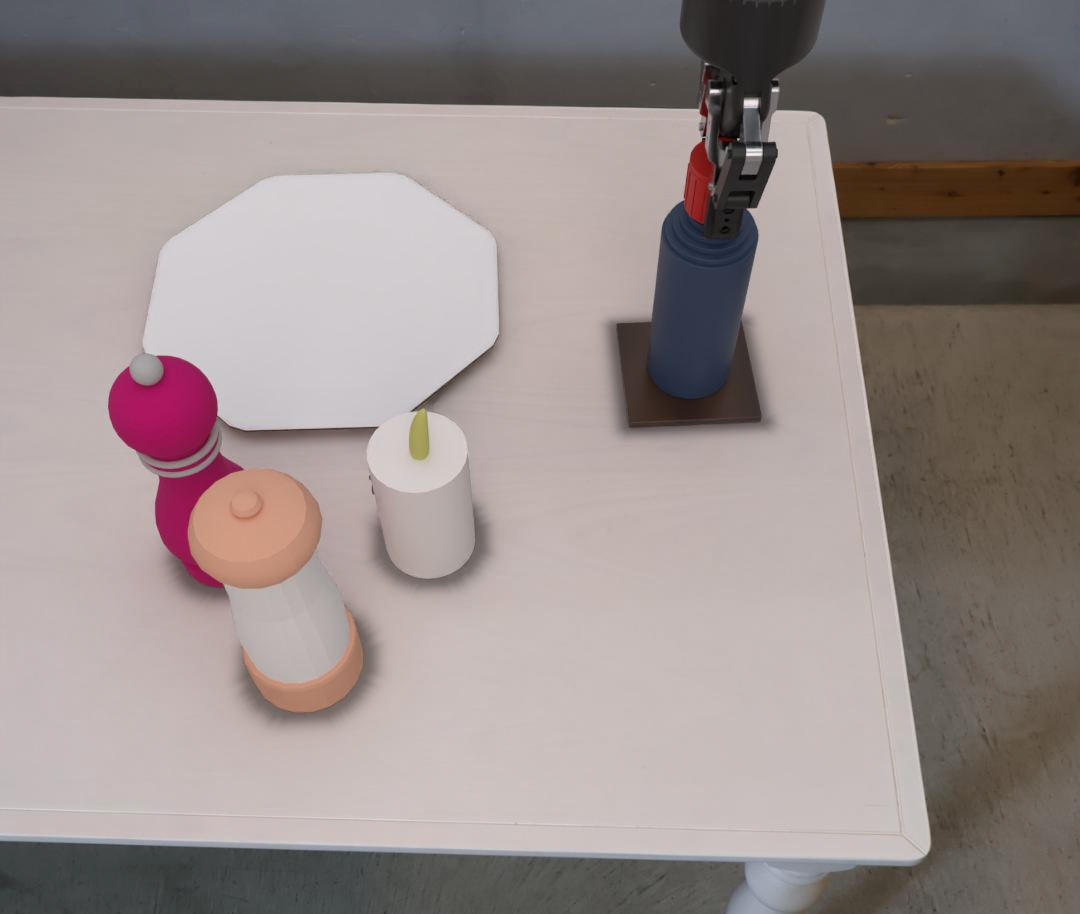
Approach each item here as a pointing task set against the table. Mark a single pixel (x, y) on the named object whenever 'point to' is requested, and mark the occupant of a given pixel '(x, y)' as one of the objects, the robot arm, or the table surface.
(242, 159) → the table surface
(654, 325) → the bottle
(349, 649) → the pepper shaker
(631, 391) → the coaster
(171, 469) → the pepper mill
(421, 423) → the candle
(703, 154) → the cap
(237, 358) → the plate
